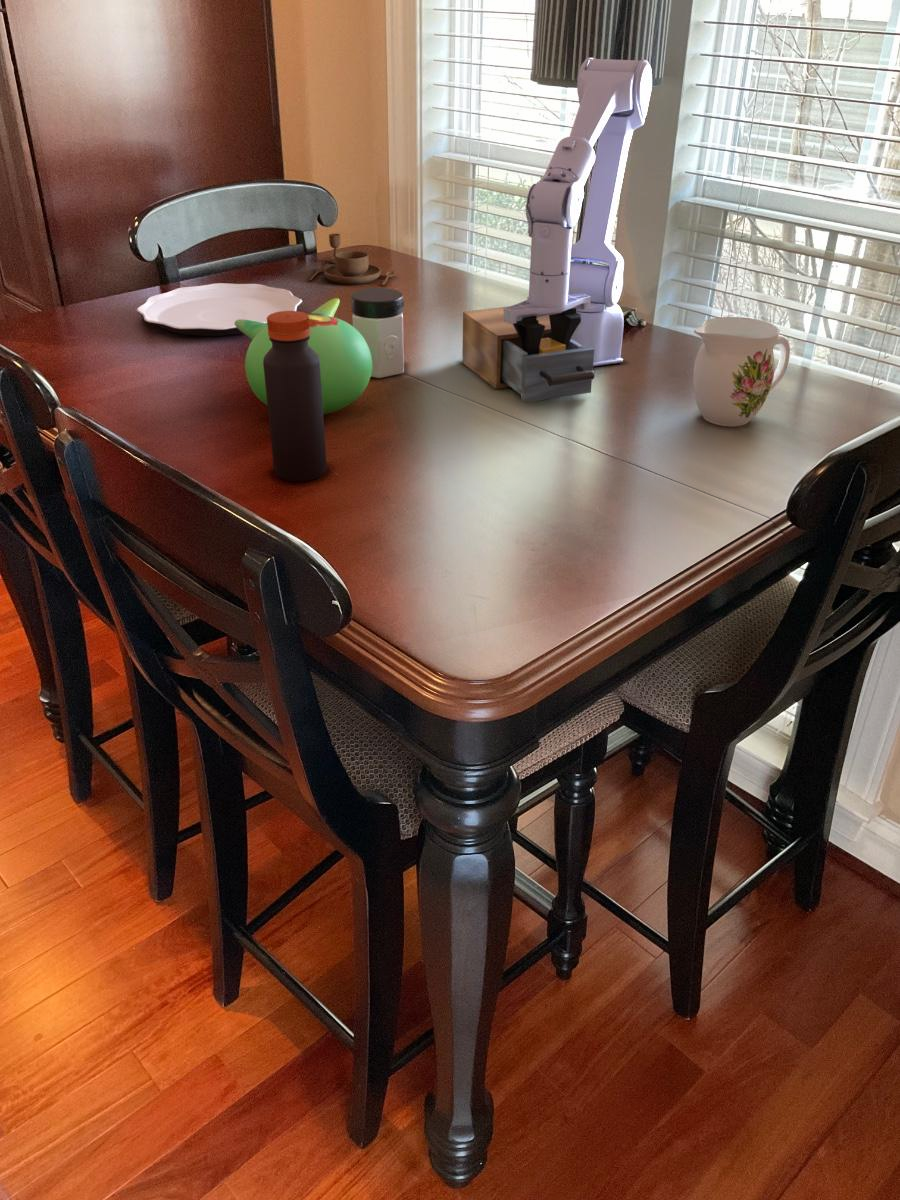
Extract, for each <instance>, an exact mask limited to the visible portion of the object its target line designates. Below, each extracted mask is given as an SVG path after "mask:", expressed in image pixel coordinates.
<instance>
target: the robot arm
mask: <svg viewBox="0 0 900 1200" xmlns="http://www.w3.org/2000/svg"><path fill="white" fill-rule="evenodd" d="M652 87H653V73H652V67H651V64H649V61H648V60H647V59H641V60H636V59H635V60H633V59H609V58H608V59H607V58H594V57H593V56H592V57H590V56H589V57H586V59H585V60H584V61H583V63H582V64H581V65H580V68H579V71H578V75H577V83H576V89H577V90H576V91H577V96H578V103H579V106H578V108H577V113H576V115H575V118H574V120H573V125H572V128H571V130H570V133H569V136H566V137H563V138H562V139H560V140H559V142H558V143H557V145H556V148H555V150H554V152H553V154H552V157H551V158H550V161H549V163H548V165H547V168H546V170H545V172H544V174H543V177H542V178H541V179H540V180H539V181H537V182H536V183H533V184H532V185H531V186H530V188H529V189H528V193H527V196H526V203H525V218H526V220H527V234H528V237H530V239H531V240H530V260H529V262H530V263H529V283H528V284H529V285H528V296H527V297H526V300H523V301H519V302H517V303H514V304H513V305H509V307H508V306H504V307H505V308H504V316H503V321H505V322H507V323H510V324H513V326H514V327H515V329H516V332H517V334H518V336H519V339H520V342H521V345H522V349H523V351H525V352H526V353H528V355H535V354H539V347H540V342H541V338H542V334H543V331H544V329H545V326H544V325H542V324H540V323H538V320H537V317H542V316H547V315H549V319H550V325H551V339H553V340H555V341H557V342H560V343H562V344H564V345H566V350H567V347H568V344H569V342H570V339H572V340H574V341H576V342H577V343H579V344H581V345H582V346H583V348H587V347H592V348H593V349H594V361H593V367H596V366H604V365H610V364H618V363H623V362H624V361H623V360H624V359H623V358H622V357H621V355H622V347H623V346H622V345H623V337H624V336H623V335H624V326H625V325H624V323H625V320H624V313H623V310H622V309H621V307H620V306H619V304H617V303H618V302H619V300H620V297H621V294H622V291H623V286H624V270H625V269H624V268H625V260H624V258H623V256H622V255H621V253H619V252H618V251H617V249H616V248H615V247H614V246H613V245H612V243H611V242H612V239H613V238H612V237H613V231H614V226H615V221H616V216H617V212H618V206H619V200H620V195H621V190H622V185H623V179H624V174H625V169H626V165H627V160H628V153H629V148H630V144H631V140H632V137H633V134H634V131H635V130H636V129H638V128H640V127H642V126H643V125H644V124H645V121H646V119H645V118H646V116H647V114H648V108H649V103H650V99H651V93H652V89H653V88H652ZM595 143H597V144H596V150H594V146H595ZM591 170H592V172H591ZM590 173H591V178H590V184H589V189H588V194H587V199H586V204H585V205H586V206H585V211H584V216H583V221H582V227H581V231H580V232H581V233H580V237H579V240H577V241H576V242H575V243H573V244H572V242H573V230H574V227H575V226H576V224H577V223H578V221H579V218H580V215H581V210H582V204H583V200H584V195H585V192H584V187H585V185H586V182H587V179H588V178H589V175H590ZM588 262H590V263H588ZM596 263H599V264H596ZM604 264H605V265H604Z"/></svg>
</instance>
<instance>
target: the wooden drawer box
mask: <svg viewBox="0 0 900 1200" xmlns="http://www.w3.org/2000/svg"><path fill="white" fill-rule="evenodd" d="M509 306H510V305H509ZM509 306H507V307H509ZM505 307H506V306H499V307H490V308H483V309H474V310H466V311H462V352H461V353H462V359H461V361H462V363H463V364H464V365H465V366H466V367H468V368H469V369H470V370H471V371H473V373H475V374H476V375H478V376H479V377H480V378H482V379H483V380H484V381H485V382H487V383H488V385H490V386H491V387H493V388H494V389H496V390H498V389H505V388H511V387H510V386H509V385H508V384H506V383H505V382H504V381H502V380H501V379H500V369H501V340H502V339H509V338H517V337H519V336H518V334H517V332H516V329H515V327H514V326H513V324H510V323H507V322H505V321H503V316H504V308H505ZM537 320H538V323H540V324H542V325H544V326H545V329H544V331H543V334H549V333H551V325H550V319H549V315H547V316H542V317H537Z"/></svg>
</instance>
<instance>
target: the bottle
mask: <svg viewBox="0 0 900 1200" xmlns="http://www.w3.org/2000/svg"><path fill="white" fill-rule="evenodd" d="M307 314H308V313H306V312H304V311H299V310H296V311H281V312H276V313H273V314H270V315H269V316H268V317H267V325H268V335H269V340H270V341H271V342H272V348H271V349H270V350H269V351H268V353H267V354H266V355H265V356H264V360H263V366H264V376H265V386H266V396H267V405H266V406H267V413H268V414H267V415H268V424H269V434H270V444H271V454H272V463H273V464H272V465H273V472H274V474H275V476H276V477H278V478H279V479H281V480H284V481H287V482H293V483H300V482H301V483H302V482H309V481H313V480H316V479H319V478H321V477H322V476H323V475H324V474H325V473H326V472H327V470H328V464H327V463H328V461H327V448H326V446H327V445H326V434H325V419H324V417H325V416H324V415H323V402H322V388H321V373H320V358H319V355H318V354H317V353H316V352H315V351H314V350H313V349H312V348H311V347H310V346H308V340H309V339H310V336H309V335H310V326H309V316H308V315H307Z"/></svg>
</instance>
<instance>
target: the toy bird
mask: <svg viewBox="0 0 900 1200" xmlns="http://www.w3.org/2000/svg"><path fill="white" fill-rule="evenodd" d="M340 302H341V301H340V298H338V297H335V298H331V299H329V300H327V301H326V302H325V303H323V304H321V305H320V306H319V307H318V308H316V309H314V310H313V311H312V312H310V313H306V314H307V315H308V316H309V326H310V335H309V336H310V339H309V340H308V346H310V347H311V348H312V349H313V350H314V351H315V352H316V353H317V354H318V355H319V358H320V373H321V388H322V402H323V416H324V415H328V414H331V413H335V412H338V411H340V410H343V409H345V408H347V407H348V406H350V405H351V404H352V403H354V402H355V401H356V400H358V399H359V398H360V397H361V396H362V394H363V393H364V392H365V391H366V389H367V387H368V385H369V383H370V381H371V378H372V377H371V373H372V357H371V353H370V350H369V347H368V345H367V343H366V341H365V339H364V338H363V336H362V335H361V334H360V333H359V332H358V331H357V330H356V329H355V328H354V327H353V324H352V325H351V324H350V323H349V322H347V321H345V320H343V319H340V318H338V317H334V316H335V314H336V312H337V310H338V308H339V306H340ZM234 324H235V326H236V327H237V328H238V329H239V330H240V331H241V332H243V334H244V335H245V336H246V337H248V338H249V339H250V340H251V342H250V343H249V346H248V348H247V351H246V354H245V359H244V363H245V364H244V370H245V376H246V379H247V382H248V385H249V387H250V390H251V391H252V392H253V394H254V395H255V396H256V397H257V399H258V400H259V401H260V402H261V403H262V404H264V406H267V396H266V386H265V376H264V366H263V360H264V356H265V355H266V354H267V353H268V351H269V350H270V349H271V348H272V342H271V341H270V340H269V335H268V325H267V324H265V323H261V322H256V321H251V320H245V319H239V320H236V321H235V323H234Z"/></svg>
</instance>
